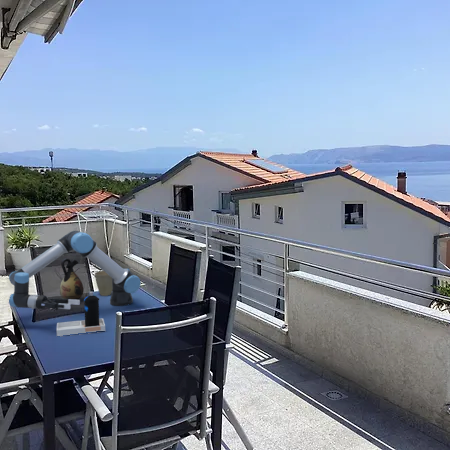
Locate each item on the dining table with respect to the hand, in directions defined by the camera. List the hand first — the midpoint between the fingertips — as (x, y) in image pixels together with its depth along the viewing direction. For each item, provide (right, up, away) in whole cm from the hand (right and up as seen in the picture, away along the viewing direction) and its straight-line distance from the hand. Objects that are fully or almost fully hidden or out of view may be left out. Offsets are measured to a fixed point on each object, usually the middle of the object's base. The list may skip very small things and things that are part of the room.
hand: (75, 304), depth 254 cm
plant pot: (-2, -6, +72) cm, 72 cm away
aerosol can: (+10, -13, -1) cm, 16 cm away
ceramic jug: (-21, -8, +54) cm, 58 cm away
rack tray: (+4, -14, -2) cm, 15 cm away
